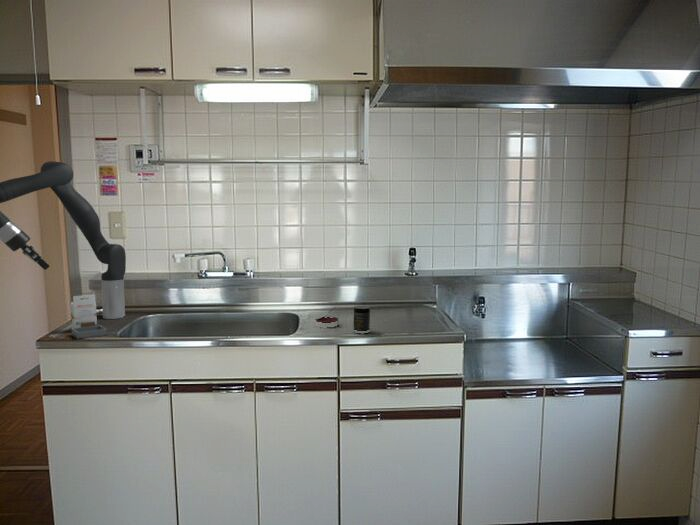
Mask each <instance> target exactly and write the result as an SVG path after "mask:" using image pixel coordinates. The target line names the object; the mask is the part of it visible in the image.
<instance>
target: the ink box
mask: <svg viewBox="0 0 700 525" xmlns="http://www.w3.org/2000/svg"><path fill="white" fill-rule="evenodd" d="M70 313H71V314H70V315H71V329H74V328H81V323H85V322H93V321H94V322H95V326H97V325H98V322H97V321H98V320H97V302H96V294H85V295H83V294H82V295H73V297H72V301H71V302H70Z"/></svg>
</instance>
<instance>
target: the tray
mask: <svg viewBox="0 0 700 525" xmlns="http://www.w3.org/2000/svg"><path fill="white" fill-rule="evenodd" d="M70 331H71V336H72V335H73V337H74V338H75V337H76V338H75V339H77V338H83V339H88V338H87V337H90V338H96V337H103V336H107V335H108V328H107V327H105V326H102V325H101V324H97V326H90V327H82V328H74V329H72V328H71V330H70Z"/></svg>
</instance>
